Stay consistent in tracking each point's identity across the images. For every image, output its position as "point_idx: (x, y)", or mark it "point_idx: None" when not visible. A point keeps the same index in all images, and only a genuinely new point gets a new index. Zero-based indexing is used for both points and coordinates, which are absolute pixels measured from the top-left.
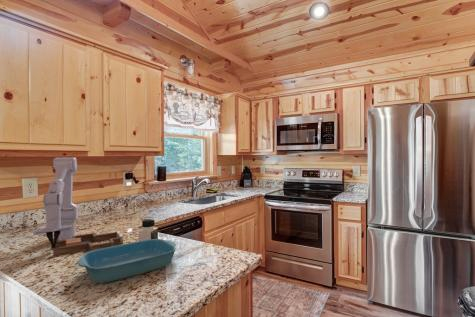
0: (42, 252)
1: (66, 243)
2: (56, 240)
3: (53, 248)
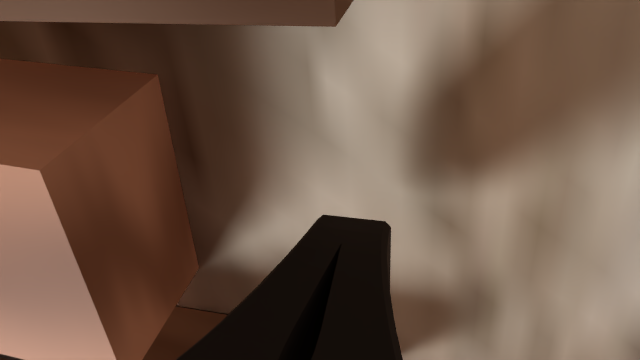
0: (555, 278)
1: (32, 164)
2: (214, 339)
3: (322, 5)
